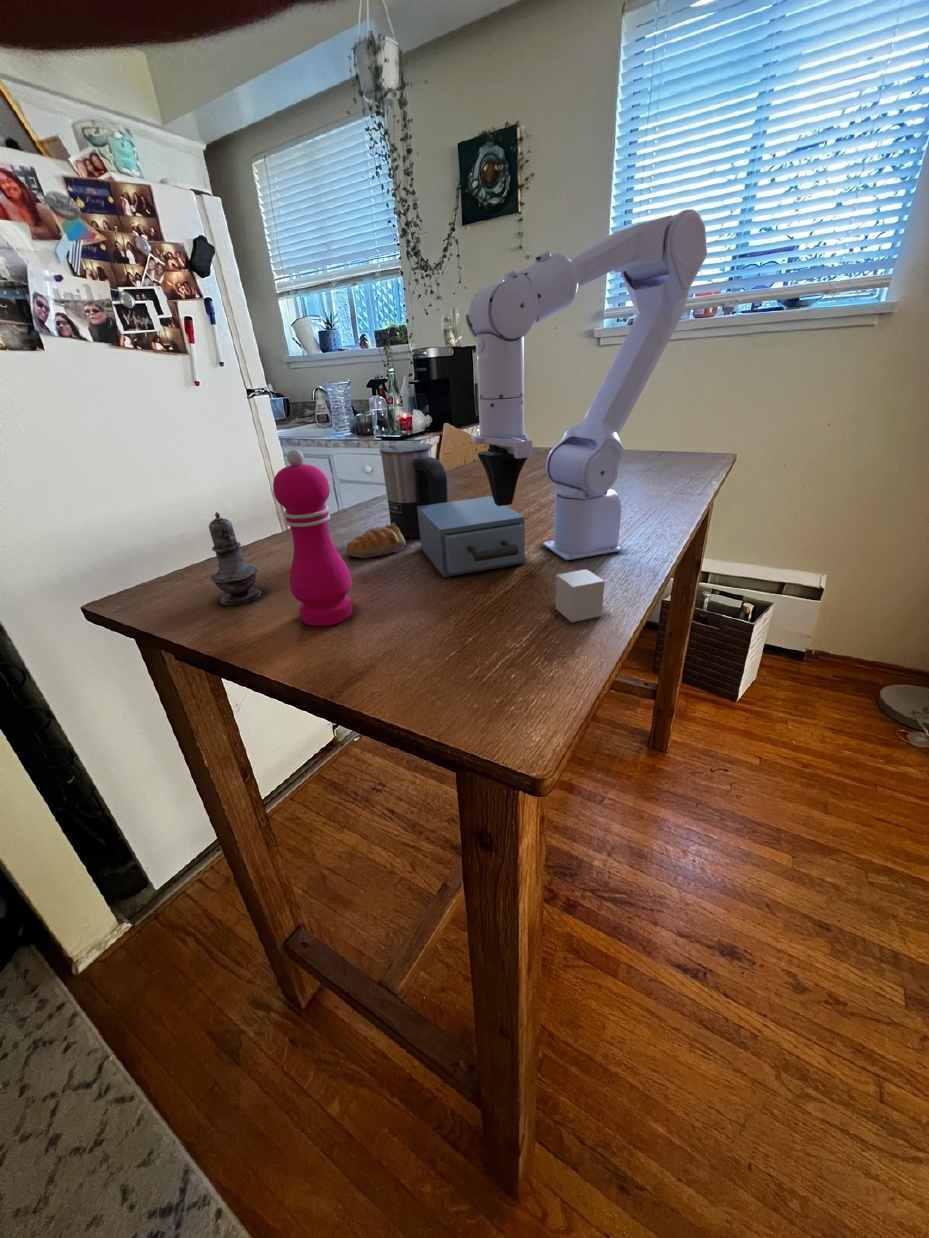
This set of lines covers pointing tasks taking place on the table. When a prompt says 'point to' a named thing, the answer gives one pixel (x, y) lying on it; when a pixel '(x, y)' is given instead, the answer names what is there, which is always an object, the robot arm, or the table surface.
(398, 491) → the milk frother
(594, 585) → the block
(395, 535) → the pastry
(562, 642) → the table surface
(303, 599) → the pepper mill
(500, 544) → the drawer
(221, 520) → the salt shaker
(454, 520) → the cabinet
